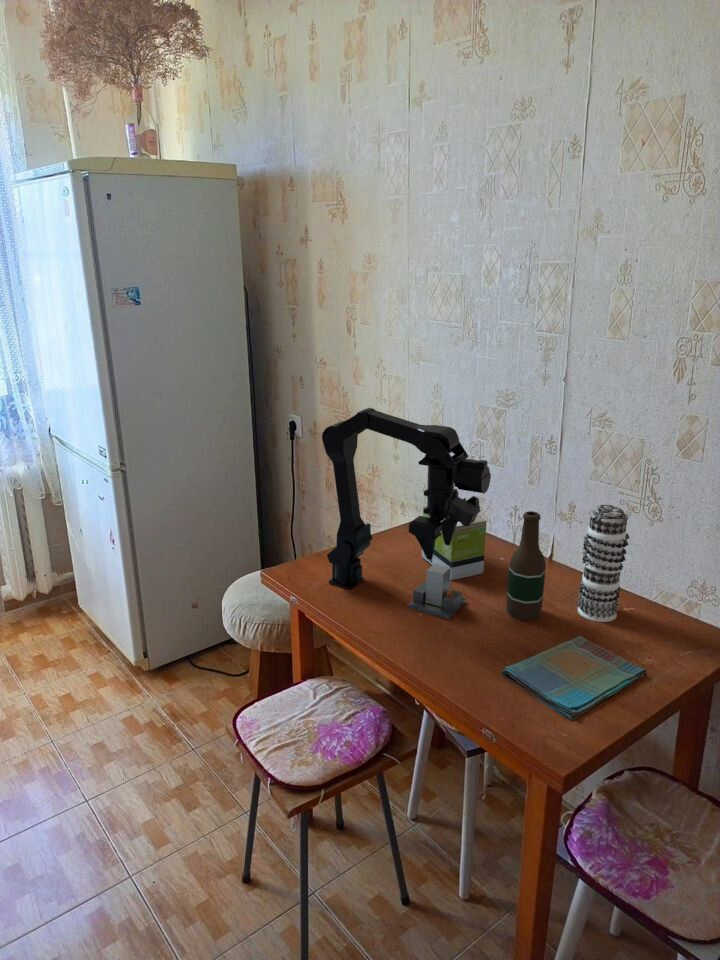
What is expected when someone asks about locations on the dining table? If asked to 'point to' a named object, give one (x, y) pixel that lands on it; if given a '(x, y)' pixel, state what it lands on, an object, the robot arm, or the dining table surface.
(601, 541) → the decorative candle
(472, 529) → the tea box
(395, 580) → the dining table surface
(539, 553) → the beer bottle
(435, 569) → the grey rectangular block
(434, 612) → the grey square frame
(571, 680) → the dish towel
